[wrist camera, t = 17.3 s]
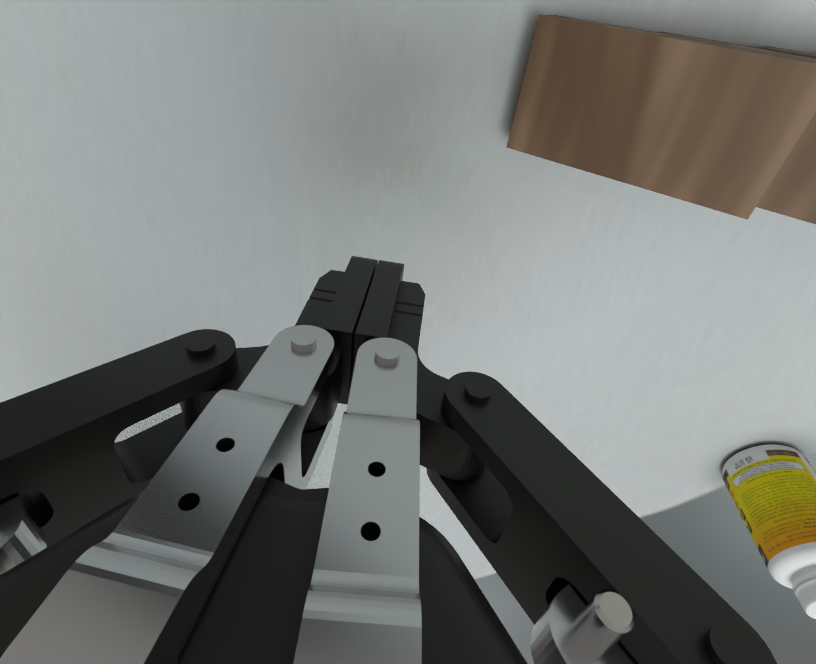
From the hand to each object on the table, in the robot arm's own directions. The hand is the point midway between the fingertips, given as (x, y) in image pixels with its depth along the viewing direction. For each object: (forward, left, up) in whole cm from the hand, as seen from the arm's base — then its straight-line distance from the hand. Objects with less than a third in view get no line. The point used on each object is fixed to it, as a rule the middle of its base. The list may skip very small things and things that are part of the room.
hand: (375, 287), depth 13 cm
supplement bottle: (+29, -19, -13) cm, 37 cm away
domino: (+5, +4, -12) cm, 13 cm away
